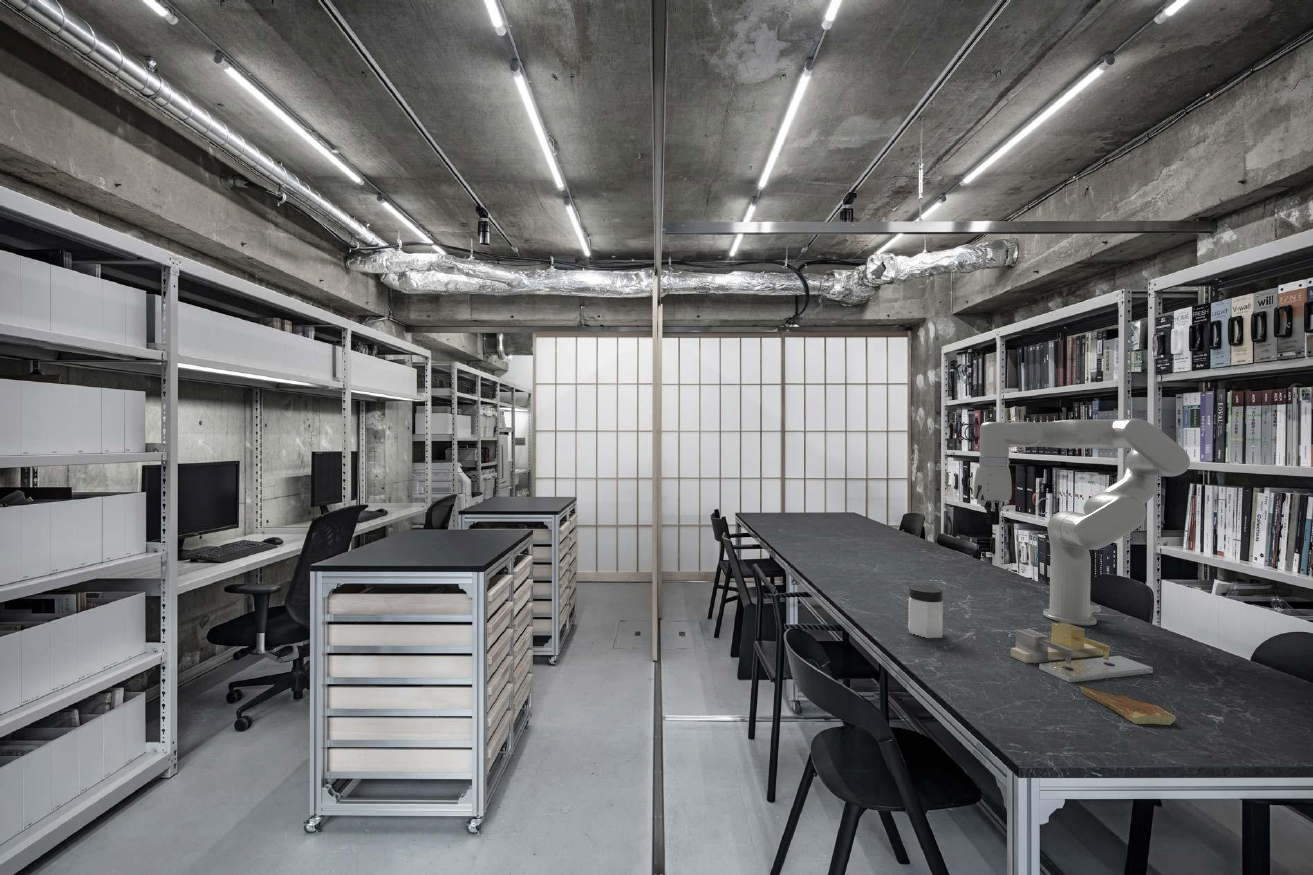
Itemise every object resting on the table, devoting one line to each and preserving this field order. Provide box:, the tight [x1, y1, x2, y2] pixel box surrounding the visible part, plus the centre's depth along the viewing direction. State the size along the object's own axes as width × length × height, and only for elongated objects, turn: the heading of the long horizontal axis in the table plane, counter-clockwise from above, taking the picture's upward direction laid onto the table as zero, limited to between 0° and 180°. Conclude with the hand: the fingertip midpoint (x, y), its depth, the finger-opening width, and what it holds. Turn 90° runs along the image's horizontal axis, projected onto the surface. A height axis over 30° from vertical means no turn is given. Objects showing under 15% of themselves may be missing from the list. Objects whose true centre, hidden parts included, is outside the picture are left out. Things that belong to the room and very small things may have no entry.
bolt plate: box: [1038, 655, 1154, 683], centre depth 125 cm, size 24×7×1 cm, turn 104°
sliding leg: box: [1050, 622, 1111, 660], centre depth 131 cm, size 4×12×5 cm, turn 14°
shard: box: [1078, 684, 1177, 726], centre depth 107 cm, size 13×9×2 cm
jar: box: [907, 584, 944, 639], centre depth 148 cm, size 9×8×12 cm
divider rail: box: [1010, 628, 1103, 664], centre depth 130 cm, size 24×12×6 cm, turn 104°
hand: (992, 524), depth 165 cm, fingers closed
